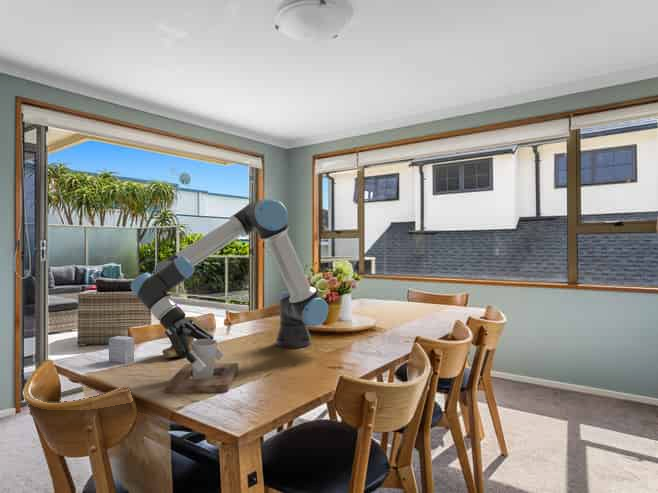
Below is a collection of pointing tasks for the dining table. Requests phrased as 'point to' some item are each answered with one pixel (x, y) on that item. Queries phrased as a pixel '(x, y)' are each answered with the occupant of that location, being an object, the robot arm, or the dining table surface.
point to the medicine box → (121, 349)
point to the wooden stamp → (171, 352)
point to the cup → (204, 357)
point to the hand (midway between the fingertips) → (212, 363)
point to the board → (202, 380)
